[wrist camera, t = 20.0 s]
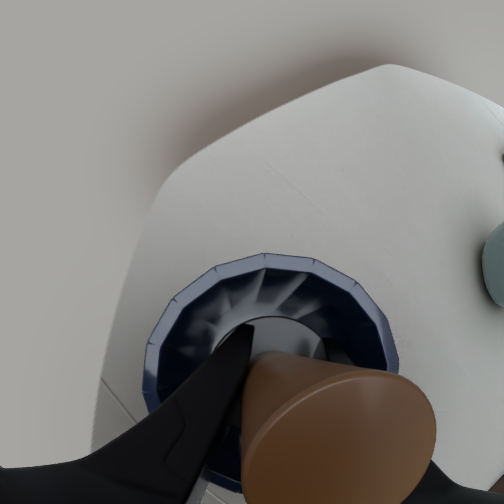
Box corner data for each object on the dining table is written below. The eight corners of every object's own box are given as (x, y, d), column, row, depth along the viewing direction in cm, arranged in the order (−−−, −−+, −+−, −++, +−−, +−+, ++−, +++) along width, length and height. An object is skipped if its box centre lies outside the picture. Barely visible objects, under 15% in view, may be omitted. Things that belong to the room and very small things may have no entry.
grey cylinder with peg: (325, 378, 12) (519, 433, 2) (248, 426, 11) (266, 611, 1) (278, 306, 13) (396, 171, 3) (200, 352, 12) (38, 376, 2)
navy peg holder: (287, 448, 12) (321, 517, 5) (166, 387, 13) (104, 419, 6) (350, 332, 15) (428, 320, 8) (233, 271, 16) (225, 211, 9)
